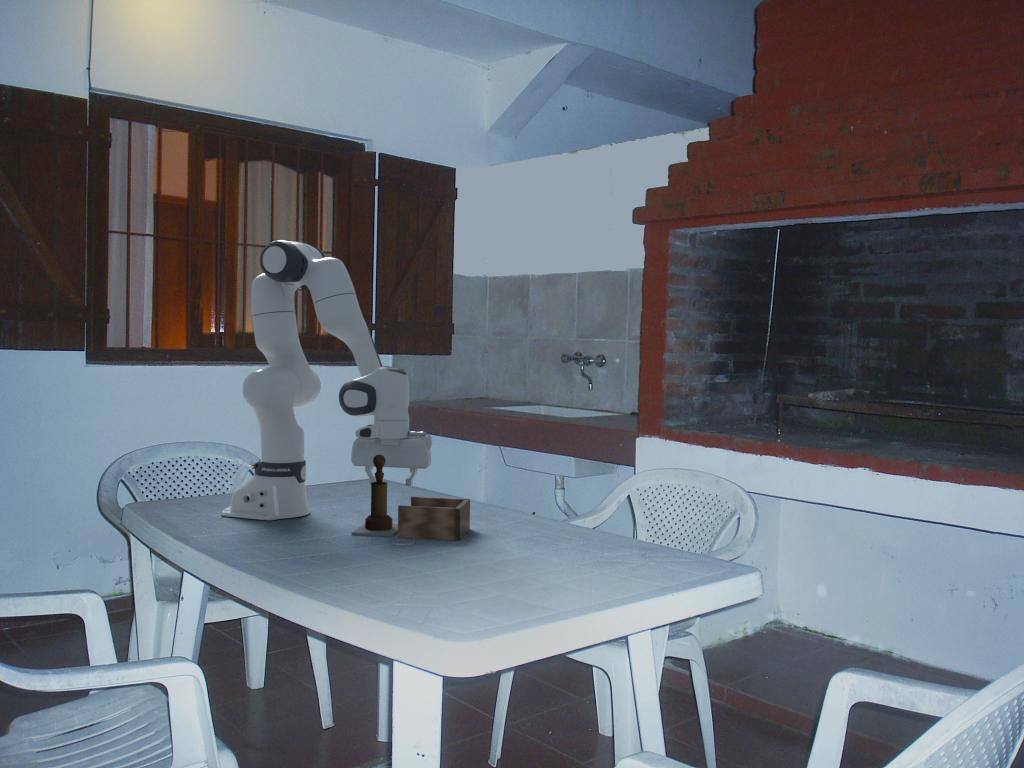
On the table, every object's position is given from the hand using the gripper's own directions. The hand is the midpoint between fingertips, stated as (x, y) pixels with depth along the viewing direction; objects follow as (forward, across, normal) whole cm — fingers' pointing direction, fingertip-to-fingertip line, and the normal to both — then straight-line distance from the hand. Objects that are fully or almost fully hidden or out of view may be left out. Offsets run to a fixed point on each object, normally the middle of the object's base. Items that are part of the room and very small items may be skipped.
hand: (391, 484), depth 224 cm
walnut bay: (+10, -13, +9) cm, 19 cm away
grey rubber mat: (+10, 0, +9) cm, 13 cm away
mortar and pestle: (+9, 0, +9) cm, 13 cm away
